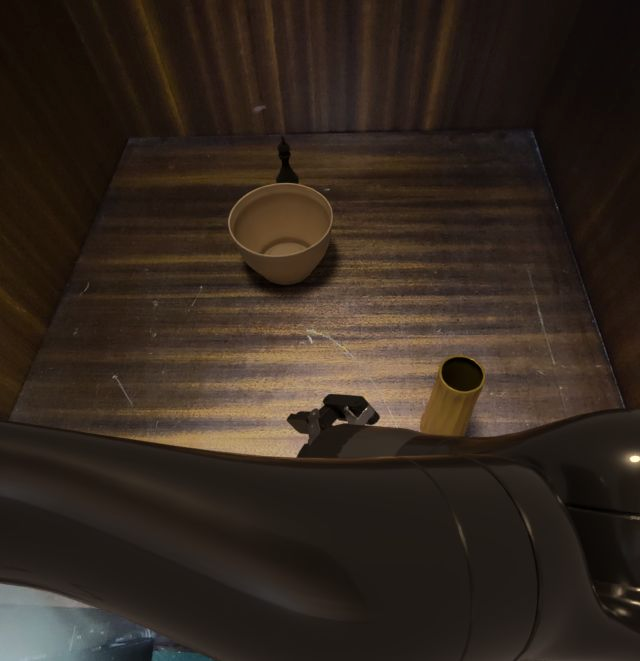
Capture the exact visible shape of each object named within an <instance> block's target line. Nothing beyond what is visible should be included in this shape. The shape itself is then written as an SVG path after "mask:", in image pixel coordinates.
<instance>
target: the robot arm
mask: <svg viewBox="0 0 640 661" xmlns="http://www.w3.org/2000/svg"><path fill="white" fill-rule="evenodd" d="M322 404H323V405H322V406H321V408H318V407H316V408H315V407H314V409H311V411H310V410H300V411H298V412H296V413H290V414H289V415H288V416H287V417H286V422H287V423H288V424H289V426H291V427H292V428H293V429H294V430H295V431H296V433H299V434H303V435H308V439H307V443H306V442H305V443H303V445H302V447H301V448H300V449H299V451H298V453H297V455H296V457H292V456H272V455H261V454H260V455H259V454H251V453H250V454H249V453H240V452H230V451H222V450H221V451H220V450H212V449H204V448H197V447H189V446H181V445H174V444H173V445H172V444H167V443H161V442H154V441H149V440H141V439H135V438H127V437H121V436H113V435H106V434H98V433H92V432H84V431H80V430H75V429H67V428H60V427H54V426H46V425H40V424H33V423H26V422H20V421H14V420H4V419H0V585H7V586H13V587H14V586H15V587H19V588H21V587H22V588H27V589H31V590H36V591H39V592H45V593H48V594H53V595H57V596H60V597H62V598H66V599H69V600H72V601H75V602H77V603H81V604H84V605H86V606H89V607H93V608H96V609H99V610H102V611H105V612H108V613H110V614H113V615H116V616H118V617H120V618H122V619H124V620H127V621H129V622H132V623H134V624H136V625H138V626H141V627H143V628H145V629H147V630H150V631H151V632H154V633H156V634H158V635H161V636H163V637H165V638H167V639H170V640H171V641H173V642H175V643H177V644H179V645H182V646H183V647H185V648H187V649H190V650H192V651H194V652H195V653H198V654H200V655H202V656H204V657H206V658H208V659H210V660H212V661H640V408H634V407H633V408H632V407H625V408H624V407H621V408H619V407H617V408H607V409H601V410H595V411H590V412H586V413H581V414H577V415H573V416H570V417H566V418H563V419H559V420H555V421H552V422H549V423H546V424H542V425H539V426H535V427H532V428H529V429H524V430H521V431H517V432H511V433H504V434H500V435H491V436H490V435H489V436H466V435H465V436H450V435H438V434H428V433H422V431H418V430H414V429H410V428H405V427H397V426H395V427H394V426H384V425H383V426H381V425H375V424H377V423H378V422H379V421H380V418H381V415H380V414H379V412H378V411H376V410H375V408H374V407H373V406H372V405H371V404H370V403H369V402H368V400H367V399H366V398H365V397H364V396H363V395H355V394H353V395H351V394H339V393H329V394H327V395H325V397H324V398H323V399H322ZM337 420H338V421H341V423H338V424H334V423H335V422H336V421H337ZM342 422H344V423H342Z"/></svg>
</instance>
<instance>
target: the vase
mask: <svg viewBox="0 0 640 661" xmlns="http://www.w3.org/2000/svg"><path fill="white" fill-rule="evenodd" d="M486 377H487V375H486V370H485V368H484V366H483V365H482V364H481V363H480V362H479V361H478V359H475V358H474V357H472V356H470V355H466V354H461V353H460V354H459V353H458V354H452V355H449V356H447V357H445V358H444V359H443V360H441V362H440V364H439V367H438V371H437V374H436V378H435V380H434V382H433V386H432V390H431V392H430V396H429V399H428V401H427V404H426V406H425V410H424V412H423V414H422V415H421V417H420V421H419V425H420V426H419V427H420V432H422V433H428V434H438V435H450V436H465V437H466V434H467V429H468V427H469V424H470V420H471V418H472V415H473V412H474V410H475V406H476V403H477V401H478V399H479V397H480V395H481V393H482V390H483V388H484V385H485V383H486V382H485V381H486Z"/></svg>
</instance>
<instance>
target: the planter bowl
mask: <svg viewBox="0 0 640 661" xmlns="http://www.w3.org/2000/svg"><path fill="white" fill-rule="evenodd" d="M333 222H334V213H333V208H332V206H331V204H330V202H329V200H328V199H327V198H326V197H325V196H324V195H323V194H322V193H320V192H319V191H317V190H315V188H312V187H309V186H307V185H304V184H300V183H298V184H294V183H271V184H267V185H264V186H260V187H257V188H255V189H253V190H251V191H250V192H248V193H246V194H244V195H243V196H242V197H241V198H240V199H239V200H237V202H236V203H235V204H234V206H233V207H232V209H231V210H230V212H229V215H228V220H227V226H228V232H229V235H230V236H231V238H232V240H233V242H234V245H235V247H236V250H237V251H238V253H239V255H240V256H241V258H242V259H243V261H244V262H245V263H246V264H247V265H248V266H249V267H250V268H251V269H252V270H253V271H254V272H256V273H258V274H259V275H260V276H263V277H264V278H265V279H266V280H267V281H269V282H271V283H273V284H275V285H276V284H277V285H280V286H281V285H282V286H290V285H295V284H298V283H300V282H302V281H304V280H306V279H307V278H308V277H309V276H310V275H311V274H312V273H313V271H314V269H315V268H316V267H317V266H318V265H319V264H320V262H321V261H322V259H323V258H324V256H325V254H326V252H327V250H328V247H329V244H330V241H331V235H332V227H333Z"/></svg>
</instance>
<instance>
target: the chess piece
mask: <svg viewBox="0 0 640 661" xmlns="http://www.w3.org/2000/svg"><path fill="white" fill-rule="evenodd" d="M290 150H291V145H290V144H289V143H287V142H286V139H285V137H284V135H281V136H280V142H279V143H278V145H277V151H278V153H277V156H278V158H279V159H280V161H281V168H280V170H279V173H278V174H277V177H276V179H275V182H276V183H275V184H277V183H294V184H299V181H300V178H299V177H298V175H297V173H296V172H295V171H294V170H293V168H292V166H291V165H290V158H291V152H290Z"/></svg>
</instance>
